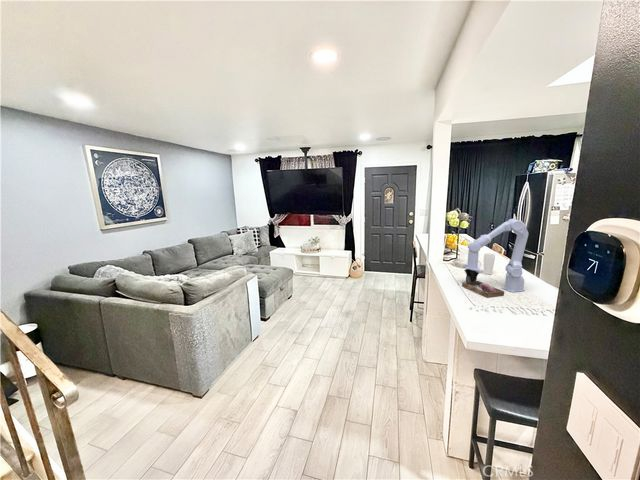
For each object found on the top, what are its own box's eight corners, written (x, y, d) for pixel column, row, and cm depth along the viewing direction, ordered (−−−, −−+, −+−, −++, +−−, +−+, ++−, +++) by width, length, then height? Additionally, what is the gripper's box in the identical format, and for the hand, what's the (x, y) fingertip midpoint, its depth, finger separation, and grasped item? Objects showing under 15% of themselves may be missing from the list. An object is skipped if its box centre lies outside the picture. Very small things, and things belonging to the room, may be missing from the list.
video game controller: (479, 292, 161) (476, 283, 159) (485, 288, 161) (482, 279, 159) (493, 298, 151) (489, 289, 150) (499, 294, 152) (496, 285, 150)
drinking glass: (491, 272, 194) (493, 253, 191) (494, 275, 187) (496, 255, 185) (481, 272, 196) (483, 253, 193) (483, 274, 190) (485, 255, 187)
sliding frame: (461, 285, 168) (462, 276, 167) (477, 284, 170) (477, 274, 169) (486, 297, 149) (487, 286, 148) (503, 295, 151) (505, 284, 150)
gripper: (459, 258, 171) (457, 278, 174) (476, 264, 157) (474, 285, 160) (468, 257, 173) (466, 277, 175) (486, 263, 159) (484, 284, 161)
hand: (471, 280), depth 167 cm, fingers closed on sliding frame, 2 cm apart
